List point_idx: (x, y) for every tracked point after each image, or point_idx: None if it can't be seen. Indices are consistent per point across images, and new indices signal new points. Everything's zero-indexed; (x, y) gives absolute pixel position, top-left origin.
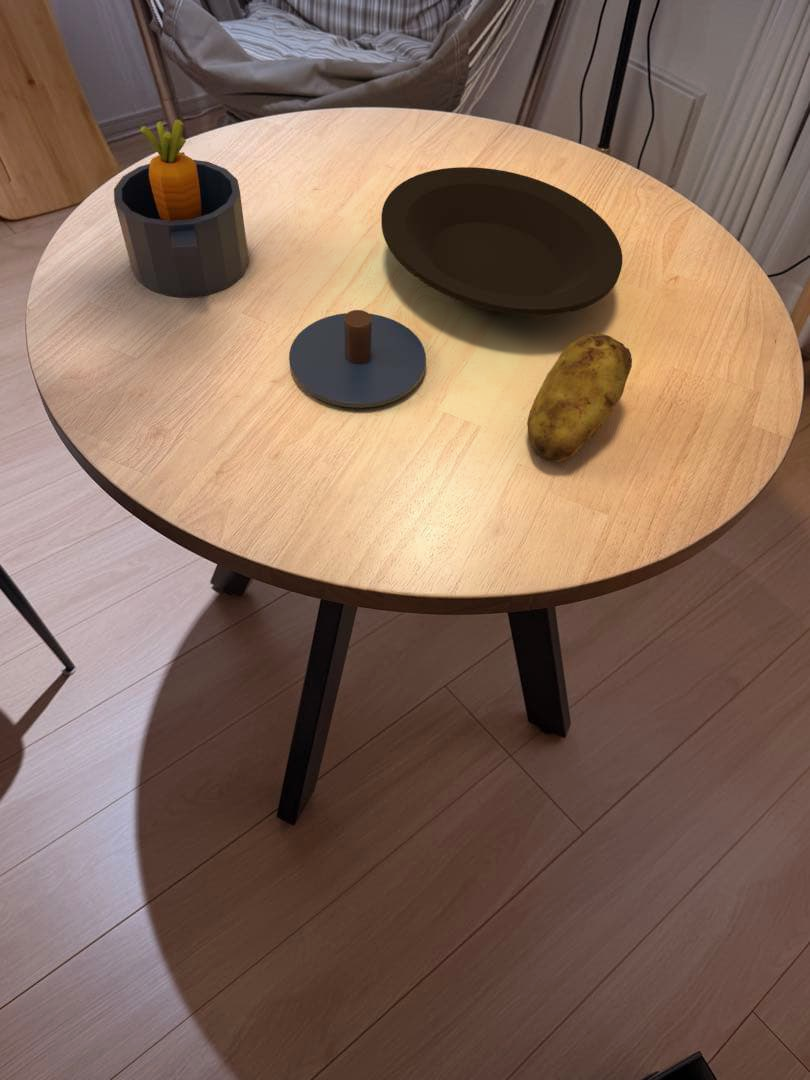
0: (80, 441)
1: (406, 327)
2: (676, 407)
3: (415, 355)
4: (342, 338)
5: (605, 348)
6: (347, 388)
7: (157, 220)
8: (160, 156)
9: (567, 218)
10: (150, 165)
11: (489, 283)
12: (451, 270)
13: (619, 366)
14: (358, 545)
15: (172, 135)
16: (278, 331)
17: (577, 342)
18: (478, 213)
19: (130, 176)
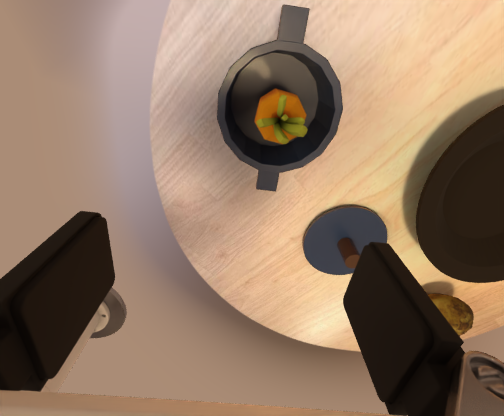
0: (183, 250)
1: (386, 230)
2: (474, 303)
3: None
4: (343, 229)
5: (458, 331)
6: (326, 263)
7: (251, 160)
8: (272, 113)
9: None
10: (259, 117)
11: (466, 215)
12: (453, 196)
13: None
14: (291, 323)
15: (290, 132)
16: (310, 200)
17: (451, 320)
18: None
19: (238, 71)
